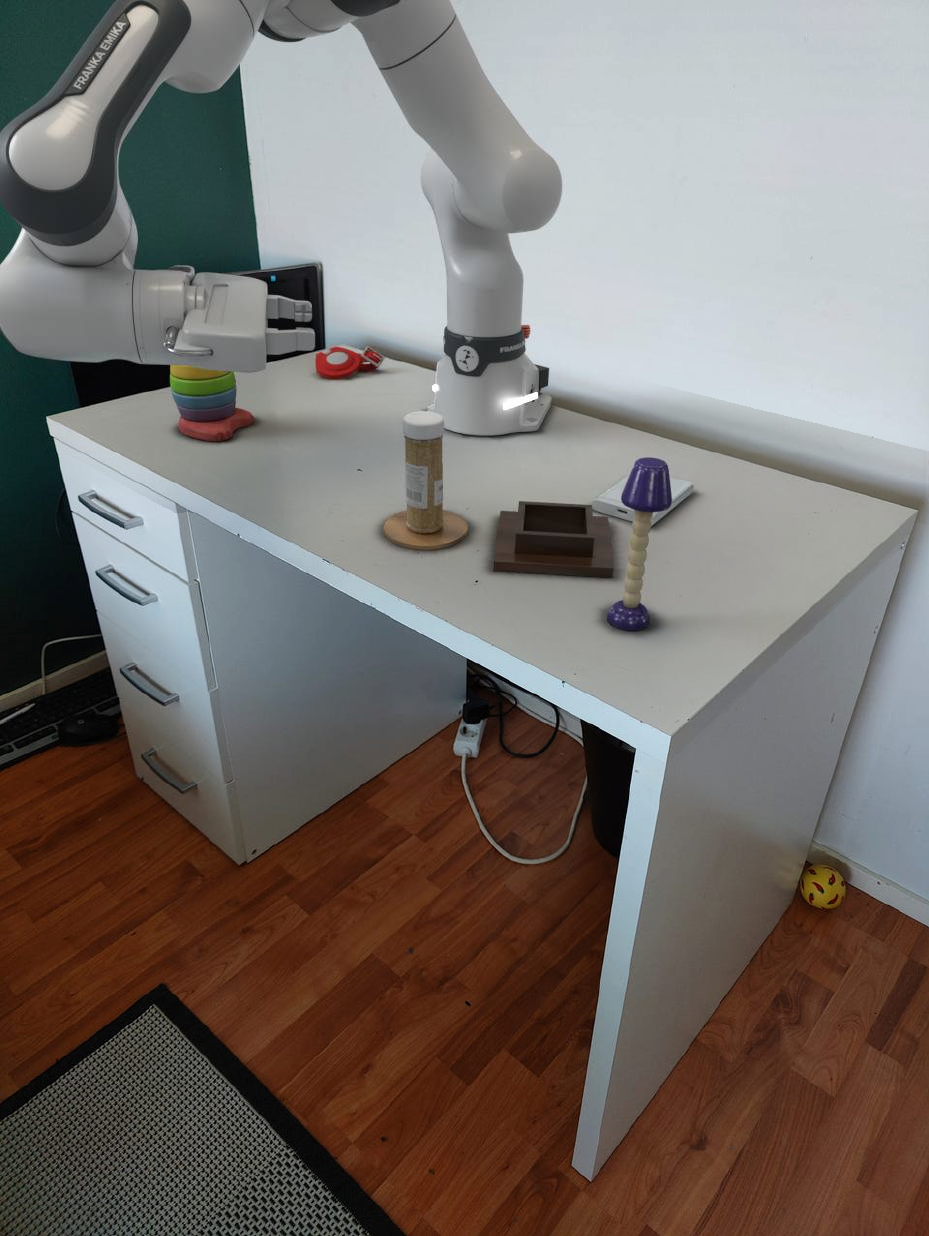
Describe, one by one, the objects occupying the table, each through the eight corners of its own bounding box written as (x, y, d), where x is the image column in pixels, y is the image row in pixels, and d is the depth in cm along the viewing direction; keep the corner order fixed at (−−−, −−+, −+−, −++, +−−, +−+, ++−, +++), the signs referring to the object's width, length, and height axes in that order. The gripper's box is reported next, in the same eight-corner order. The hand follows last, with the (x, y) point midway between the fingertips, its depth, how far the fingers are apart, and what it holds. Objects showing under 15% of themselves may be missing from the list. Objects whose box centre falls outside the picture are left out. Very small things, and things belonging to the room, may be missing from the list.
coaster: (409, 506, 108) (408, 502, 108) (481, 522, 105) (481, 518, 104) (368, 538, 100) (367, 534, 100) (444, 557, 97) (444, 552, 97)
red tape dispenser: (328, 376, 150) (301, 350, 155) (332, 397, 153) (306, 371, 158) (388, 351, 154) (360, 326, 159) (390, 372, 157) (363, 347, 162)
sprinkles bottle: (451, 529, 102) (452, 418, 94) (417, 538, 99) (416, 426, 92) (430, 514, 105) (430, 407, 98) (398, 523, 103) (395, 413, 95)
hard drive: (637, 468, 116) (593, 497, 107) (694, 482, 112) (653, 515, 103) (635, 479, 117) (591, 510, 108) (692, 494, 113) (651, 527, 104)
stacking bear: (223, 443, 125) (205, 317, 116) (162, 435, 128) (140, 311, 118) (259, 419, 134) (245, 300, 124) (201, 412, 136) (184, 295, 127)
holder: (500, 519, 105) (501, 492, 104) (606, 525, 105) (610, 498, 103) (493, 570, 95) (494, 541, 93) (612, 577, 94) (616, 548, 92)
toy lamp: (602, 606, 89) (620, 452, 80) (647, 605, 89) (670, 452, 80) (611, 631, 84) (632, 472, 76) (658, 631, 85) (684, 472, 76)
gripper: (156, 317, 75) (316, 324, 78) (178, 260, 92) (310, 268, 94) (163, 387, 79) (316, 391, 82) (183, 320, 95) (310, 326, 98)
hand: (313, 324), depth 88 cm, fingers open, 8 cm apart
